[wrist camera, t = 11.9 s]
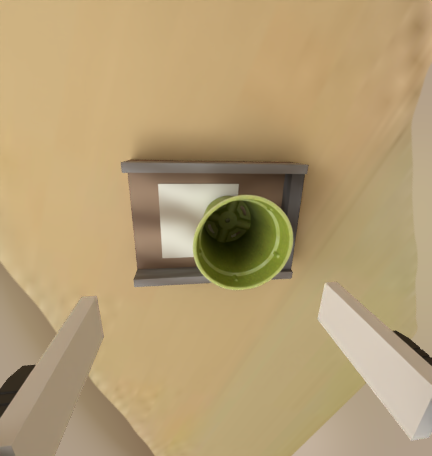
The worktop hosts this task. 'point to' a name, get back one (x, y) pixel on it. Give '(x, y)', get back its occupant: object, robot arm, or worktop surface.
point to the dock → (197, 209)
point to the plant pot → (242, 242)
